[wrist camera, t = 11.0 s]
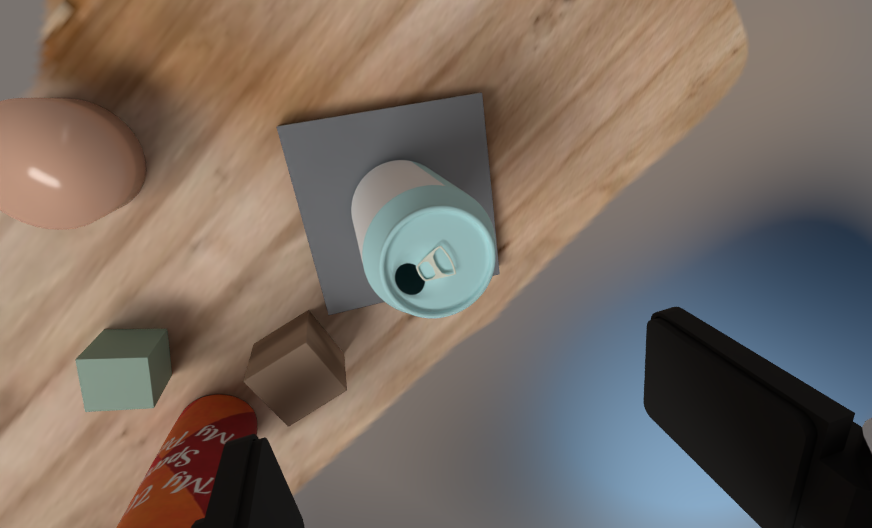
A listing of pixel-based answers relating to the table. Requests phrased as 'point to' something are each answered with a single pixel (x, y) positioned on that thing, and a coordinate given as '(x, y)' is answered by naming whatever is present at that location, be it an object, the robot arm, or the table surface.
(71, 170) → the peach smooth rounded part
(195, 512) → the coffee cup
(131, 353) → the green block
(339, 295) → the slate board
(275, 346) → the walnut block
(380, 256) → the can
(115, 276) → the table surface
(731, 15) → the table surface
